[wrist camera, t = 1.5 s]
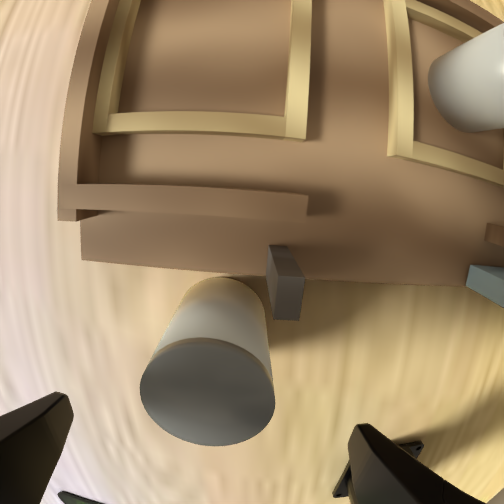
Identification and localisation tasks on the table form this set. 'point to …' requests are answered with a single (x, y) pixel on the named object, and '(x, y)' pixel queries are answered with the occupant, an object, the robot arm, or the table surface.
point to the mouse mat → (73, 499)
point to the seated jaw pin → (471, 83)
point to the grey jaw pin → (212, 367)
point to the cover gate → (487, 282)
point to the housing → (278, 143)
